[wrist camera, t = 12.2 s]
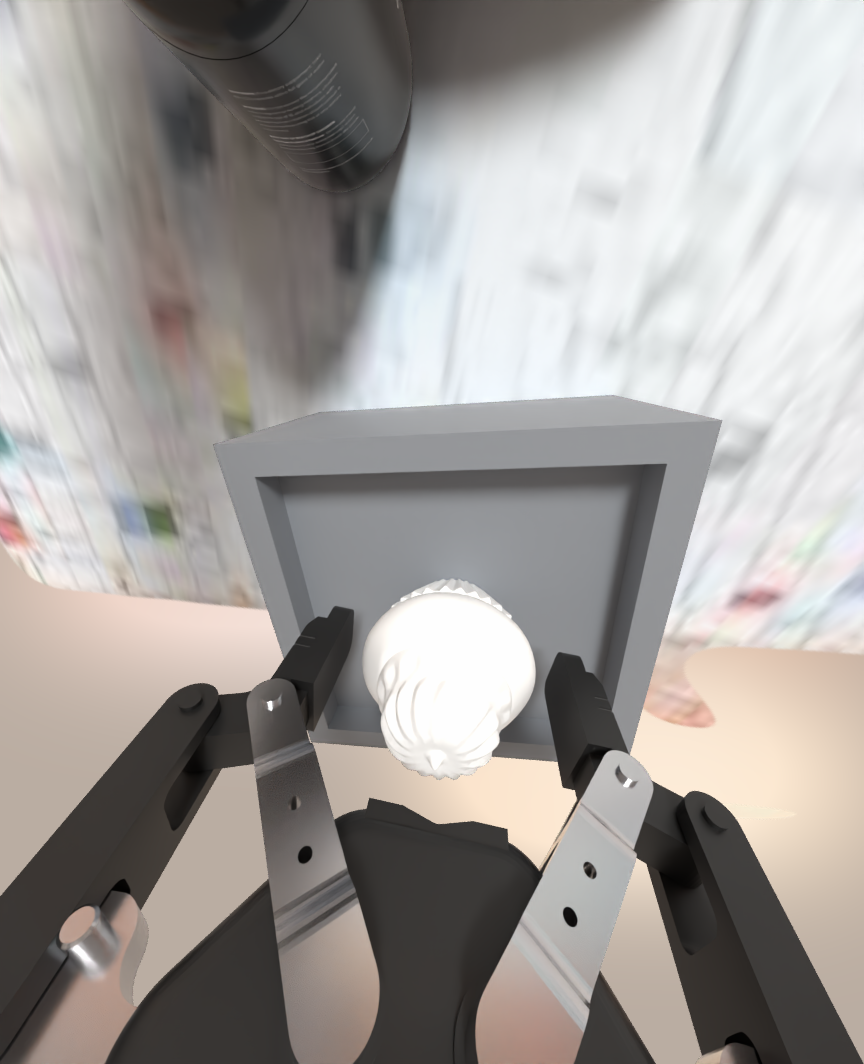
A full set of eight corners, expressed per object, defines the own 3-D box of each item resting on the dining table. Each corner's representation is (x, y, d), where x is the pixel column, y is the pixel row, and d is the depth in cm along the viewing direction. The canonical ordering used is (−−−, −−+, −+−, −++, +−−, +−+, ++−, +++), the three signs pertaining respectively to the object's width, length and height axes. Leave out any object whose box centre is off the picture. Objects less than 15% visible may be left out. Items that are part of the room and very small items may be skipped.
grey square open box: (322, 411, 21) (213, 444, 12) (610, 394, 18) (722, 420, 10) (363, 625, 27) (311, 742, 19) (577, 632, 25) (626, 767, 17)
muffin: (371, 556, 15) (291, 691, 9) (516, 538, 14) (545, 681, 7) (404, 663, 17) (360, 830, 11) (530, 657, 16) (560, 840, 10)
